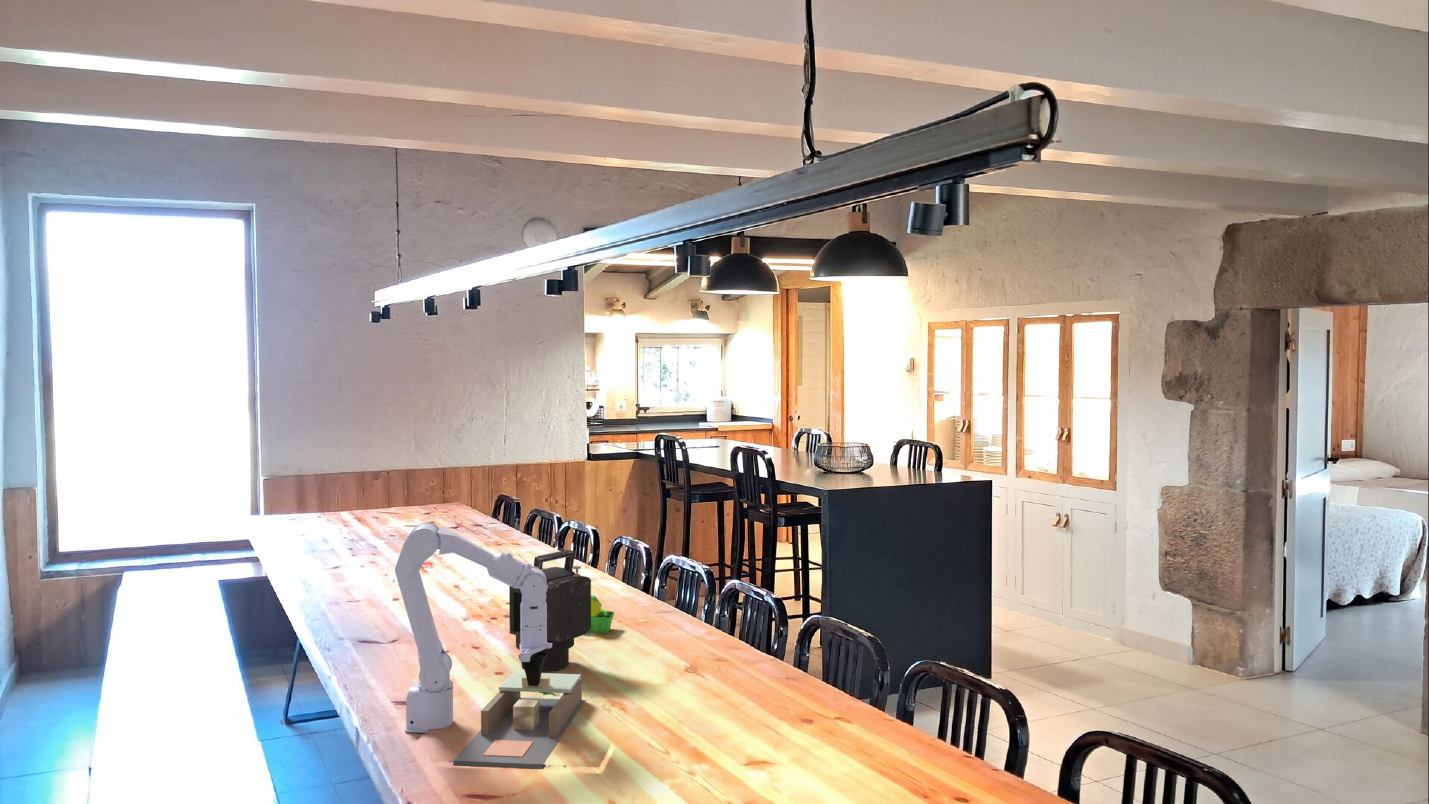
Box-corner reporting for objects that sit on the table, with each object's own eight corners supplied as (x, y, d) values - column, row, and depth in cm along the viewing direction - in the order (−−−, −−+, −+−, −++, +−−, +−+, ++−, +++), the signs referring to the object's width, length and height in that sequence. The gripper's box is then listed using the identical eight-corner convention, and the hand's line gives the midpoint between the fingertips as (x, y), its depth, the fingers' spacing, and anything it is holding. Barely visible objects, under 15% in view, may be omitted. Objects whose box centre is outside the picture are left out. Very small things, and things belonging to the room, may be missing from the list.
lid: (498, 690, 224) (498, 678, 224) (513, 675, 235) (513, 663, 235) (569, 693, 222) (569, 680, 222) (580, 677, 233) (580, 665, 233)
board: (453, 765, 198) (453, 734, 198) (510, 701, 236) (509, 675, 236) (543, 769, 196) (543, 738, 196) (585, 704, 234) (585, 678, 234)
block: (513, 729, 215) (513, 706, 215) (519, 722, 219) (519, 699, 219) (533, 730, 215) (533, 707, 214) (539, 722, 219) (539, 700, 219)
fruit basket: (615, 627, 303) (615, 590, 302) (609, 635, 294) (609, 597, 294) (577, 626, 304) (577, 589, 303) (570, 634, 295) (570, 596, 295)
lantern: (545, 654, 275) (544, 544, 274) (594, 665, 264) (594, 551, 263) (503, 667, 262) (503, 552, 261) (553, 680, 252) (553, 560, 251)
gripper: (542, 633, 215) (543, 696, 215) (559, 616, 229) (559, 675, 230) (510, 632, 215) (510, 695, 216) (529, 615, 230) (529, 674, 230)
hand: (533, 685), depth 223 cm, fingers closed
